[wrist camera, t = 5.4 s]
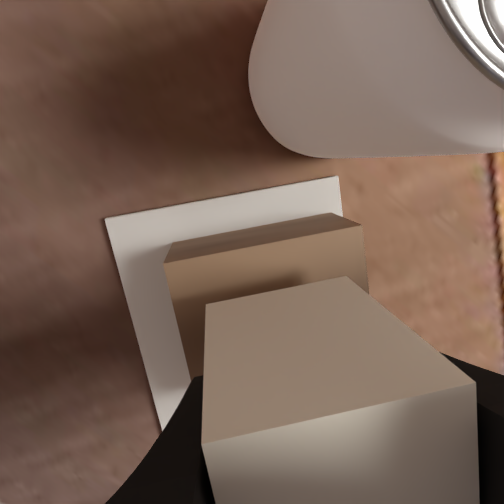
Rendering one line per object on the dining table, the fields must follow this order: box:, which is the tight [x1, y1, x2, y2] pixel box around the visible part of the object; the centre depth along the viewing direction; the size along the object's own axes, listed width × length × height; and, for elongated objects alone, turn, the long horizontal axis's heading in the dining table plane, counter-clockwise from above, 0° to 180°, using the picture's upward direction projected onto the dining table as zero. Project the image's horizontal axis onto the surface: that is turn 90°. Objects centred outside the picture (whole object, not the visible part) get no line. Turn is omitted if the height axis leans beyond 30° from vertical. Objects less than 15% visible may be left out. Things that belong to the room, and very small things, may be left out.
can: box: [248, 0, 504, 158], centre depth 10 cm, size 6×6×12 cm
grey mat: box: [105, 176, 343, 431], centre depth 18 cm, size 16×10×1 cm, turn 10°
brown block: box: [163, 212, 369, 381], centre depth 15 cm, size 7×7×4 cm
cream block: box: [201, 276, 480, 504], centre depth 9 cm, size 4×4×6 cm
